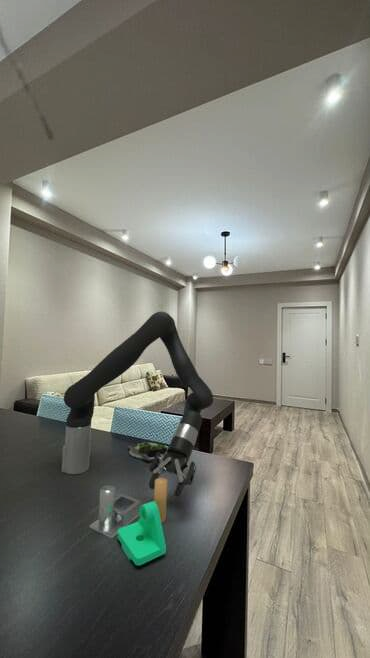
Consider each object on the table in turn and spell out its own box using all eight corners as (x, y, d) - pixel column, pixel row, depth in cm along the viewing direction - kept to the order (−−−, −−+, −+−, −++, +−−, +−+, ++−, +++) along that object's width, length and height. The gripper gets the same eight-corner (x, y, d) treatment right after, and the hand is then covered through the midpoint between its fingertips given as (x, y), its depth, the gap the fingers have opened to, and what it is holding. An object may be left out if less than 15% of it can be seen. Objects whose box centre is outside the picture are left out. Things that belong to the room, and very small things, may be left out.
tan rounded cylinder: (152, 523, 81) (154, 483, 82) (153, 515, 85) (155, 477, 85) (165, 523, 82) (167, 484, 82) (165, 515, 85) (167, 477, 85)
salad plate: (116, 455, 126) (117, 445, 126) (140, 442, 142) (141, 433, 142) (153, 466, 117) (154, 455, 117) (175, 451, 133) (175, 441, 133)
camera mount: (115, 539, 75) (117, 499, 75) (142, 529, 79) (144, 491, 79) (136, 571, 65) (138, 525, 65) (165, 557, 69) (167, 514, 70)
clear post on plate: (120, 504, 89) (122, 470, 90) (141, 513, 86) (143, 477, 86) (89, 527, 79) (91, 488, 79) (111, 538, 75) (113, 497, 75)
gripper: (161, 431, 96) (138, 480, 86) (199, 440, 89) (180, 494, 79) (168, 442, 101) (148, 490, 90) (206, 451, 94) (188, 505, 83)
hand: (163, 492), depth 84 cm, fingers open, 8 cm apart
